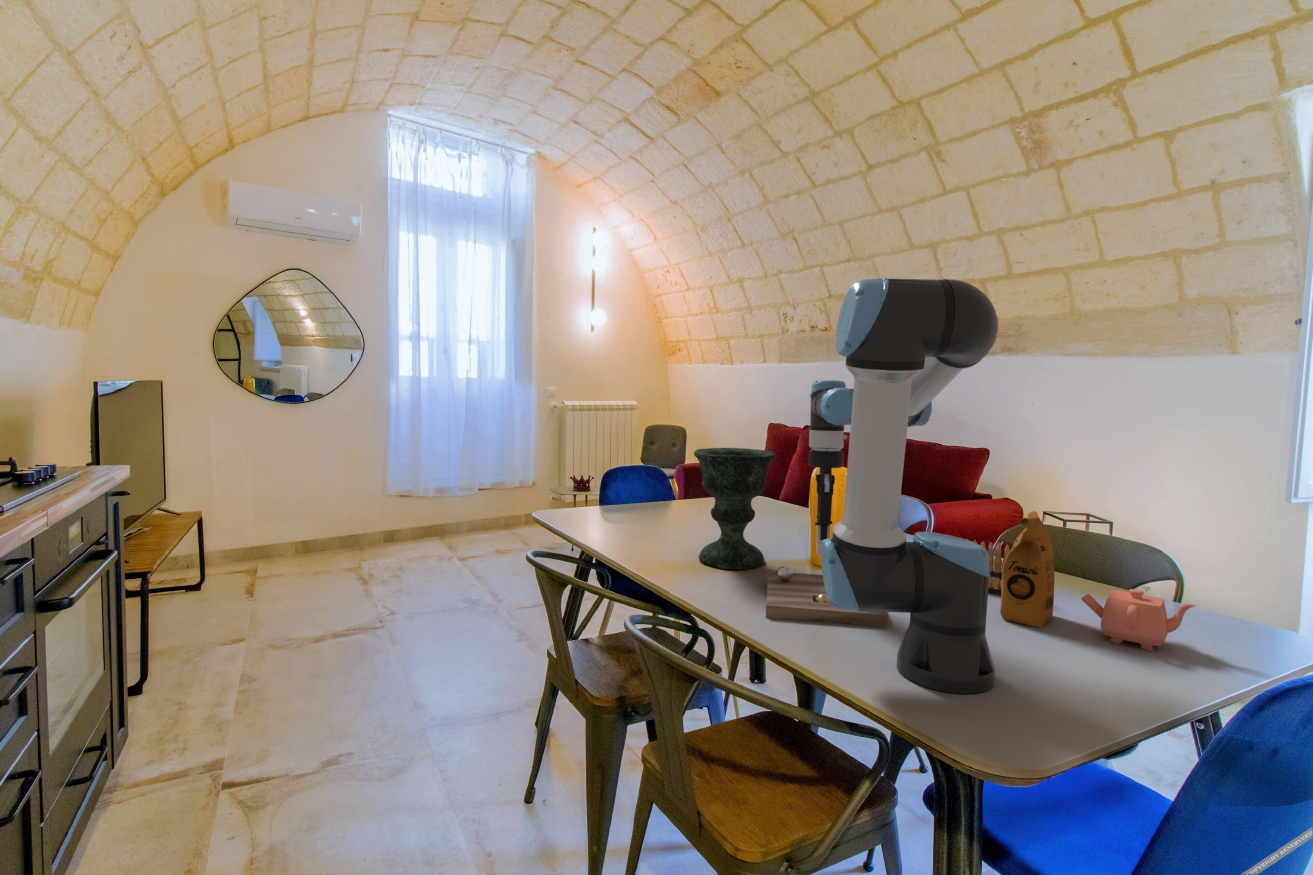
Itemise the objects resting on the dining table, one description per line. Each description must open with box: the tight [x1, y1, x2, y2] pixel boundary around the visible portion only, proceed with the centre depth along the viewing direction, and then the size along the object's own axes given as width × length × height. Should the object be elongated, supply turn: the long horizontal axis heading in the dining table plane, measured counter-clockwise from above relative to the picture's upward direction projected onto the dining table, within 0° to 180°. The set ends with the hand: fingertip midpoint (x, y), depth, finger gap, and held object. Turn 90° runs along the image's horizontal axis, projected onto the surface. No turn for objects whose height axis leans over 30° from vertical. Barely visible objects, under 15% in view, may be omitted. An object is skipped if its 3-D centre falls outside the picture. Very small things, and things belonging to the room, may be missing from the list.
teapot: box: [1080, 588, 1198, 652], centre depth 129 cm, size 14×12×10 cm
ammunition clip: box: [965, 538, 1010, 596], centre depth 159 cm, size 11×2×12 cm, turn 52°
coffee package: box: [999, 511, 1055, 629], centre depth 141 cm, size 10×12×22 cm
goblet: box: [693, 447, 777, 571], centre depth 181 cm, size 22×23×30 cm
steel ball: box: [777, 565, 794, 581], centre depth 156 cm, size 4×4×4 cm
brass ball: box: [815, 594, 830, 603], centre depth 143 cm, size 4×4×4 cm
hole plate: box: [765, 570, 888, 628], centre depth 149 cm, size 26×24×2 cm
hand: (822, 553), depth 151 cm, fingers closed
